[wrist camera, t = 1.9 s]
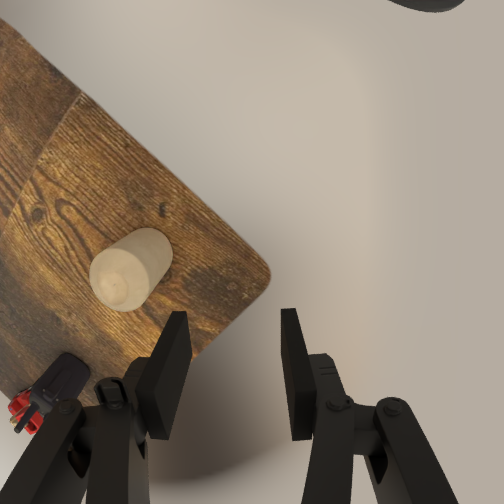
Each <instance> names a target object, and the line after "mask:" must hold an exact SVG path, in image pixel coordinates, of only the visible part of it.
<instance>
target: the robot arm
mask: <svg viewBox="0 0 504 504" xmlns="http://www.w3.org/2000/svg"><path fill="white" fill-rule="evenodd" d="M191 358H192V348H191V341H190V334H189V327H188V320H187V312H186V311H172V313H171V315H170V317H169V319H168V321H167V323H166V325H165V327H164V329H163V331H162V333H161V335H160V337H159V339H158V342H157V344H156V346H155V348H154V350H153V352H152V354H151V356H150V357H138V358H136V359H135V360H134V361H133V362H131V364H130V366H129V368H128V369H127V371H126V373H125V376H124V377H123V379H121V378H118V377H109V378H105V379H102V380H100V381H99V382H98V383H96V385H95V386H94V390H95V393H96V395H97V398H98V400H99V403H100V405H97V406H88V407H83V406H82V404H81V402H80V401H79V400H77V399H74V398H66V399H62V400H60V401H59V402H57V403H56V404H55V405H54V407H53V408H52V410H51V411H50V413H49V414H48V416H47V417H46V419H45V420H44V422H43V423H42V425H41V426H40V428H39V429H38V431H37V432H36V434H35V435H34V437H33V438H32V440H31V442H30V443H29V445H28V446H27V448H26V450H25V451H24V453H23V454H22V456H21V458H20V459H19V461H18V463H17V464H16V466H15V467H14V469H13V471H12V472H11V474H10V476H9V477H8V479H7V481H6V483H5V484H4V486H3V488H2V490H1V491H0V504H81V502H82V499H83V496H84V494H85V491H86V489H87V494H86V504H150V500H149V480H148V449H147V442H146V439H145V436H146V433H147V430H148V432H149V435H150V438H151V439H161V440H169V436H170V432H171V429H172V425H173V421H174V418H175V414H176V411H177V407H178V403H179V399H180V396H181V393H182V388H183V386H184V382H185V379H186V375H187V372H188V368H189V365H190V361H191ZM281 358H282V364H283V372H284V379H285V387H286V394H287V403H288V410H289V417H290V425H291V434H292V441H300V440H310V439H312V433H313V437H314V438H313V444H312V450H311V456H310V462H309V467H308V473H307V477H306V483H305V488H304V493H303V497H302V502H301V504H350V501H351V488H352V474H353V455H354V454H355V455H363V456H364V459H365V462H366V466H367V469H368V472H369V475H370V479H371V482H372V485H373V489H374V492H375V495H376V499H377V502H378V504H458V501H457V499H456V497H455V495H454V493H453V491H452V489H451V487H450V484H449V482H448V480H447V478H446V476H445V474H444V472H443V470H442V468H441V466H440V464H439V462H438V460H437V458H436V456H435V454H434V452H433V450H432V448H431V446H430V444H429V442H428V440H427V438H426V436H425V435H424V433H423V431H422V429H421V427H420V425H419V423H418V421H417V419H416V418H415V416H414V414H413V412H412V410H411V408H410V407H409V405H408V404H407V403H406V402H405V401H404V400H402V399H400V398H395V397H387V398H384V399H381V400H380V401H379V402H378V403H377V405H376V406H365V405H359V404H356V403H354V401H353V399H352V398H350V396H348V395H346V393H345V391H344V388H343V385H342V383H341V380H340V377H339V374H338V372H337V369H336V366H335V363H334V361H333V359H332V358H331V357H330V356H329V355H327V354H326V353H324V354H311V355H308V353H307V349H306V345H305V341H304V338H303V334H302V331H301V327H300V323H299V319H298V315H297V312H296V309H295V308H290V309H281Z"/></svg>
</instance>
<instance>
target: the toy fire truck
mask: <svg viewBox="0 0 504 504" xmlns="http://www.w3.org/2000/svg"><path fill="white" fill-rule="evenodd" d="M31 388H32V386H31V387H30V388H29V389H27V390H25V391H23V392H19V393H18V394H17V395H16V396H15V397H14V398H13V400H12V401H11V402H10V404H9V405H8V409H9V411H10V412H11V413H12V415H13V416H12V417H11V418H10V423H12V425H13V426H14V427H16V425H17V423H18V422H19V420H20V419H21V417H22V416H23V415H24V413H25V412H26V410H27V409H28V408H29V406H30V403H29V396H30V393H31ZM39 413H40V412H38V411H36V412H35V414H34V415H33V416H32V418H31V419H30V420H29V422H28V423H27V424H26V425H25V427H24V428H25V429H26V430H27V432H28V433H29V434H33V433H36V432H37V431H38V429H39V428H40V426H41V425H42V423H43V418H42V417H41V416H40V414H39Z"/></svg>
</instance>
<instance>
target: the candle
mask: <svg viewBox="0 0 504 504" xmlns="http://www.w3.org/2000/svg"><path fill="white" fill-rule="evenodd" d="M172 257H173V252H172V247H171V244H170V242H169V240H168V239H167V237H166V236H165V235H164V234H163V233H161V232H160V231H158V230H156V229H153V228H140V229H137V230H135V231H133V232H131V233H130V234H128V235H127V236H125V237H124V238H122V239H120V240H119V241H117V242H116V243H114V244H113V245H111V246H110V247H108V248H107V249H105V250H104V251H102V252H101V253H99V254H98V255H97V256H96V257H95V258H94V260H93V262H92V264H91V267H90V273H89V277H90V283H91V287H92V289H93V291H94V293H95V295H96V296H97V298H98V299H99V300H100V301H101V302H102V303H103V304H105V305H106V306H108V307H109V308H111V309H113V310H117V311H122V312H127V311H132V310H135V309H137V308H138V307H140V306H141V305H142V304H143V303H144V302H145V300H146V299H147V297H148V296H149V295H150V293H151V292H152V291H153V289H154V288H155V287H156V285H157V284H158V282H159V281H160V280H161V278H162V277H163V276H164V274H165V273H166V272H167V270H168V269H169V267H170V265H171V262H172Z"/></svg>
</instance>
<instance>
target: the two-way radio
mask: <svg viewBox="0 0 504 504" xmlns="http://www.w3.org/2000/svg"><path fill="white" fill-rule="evenodd" d="M89 377H90V373H89V369H88V368H87V366H86V365H85V364H83V363H82V362H81V361H79V360H78V359H77V358H75V357H73V356H72V355H70V354H67V353H65V354H62V355H60V356H59V357H58V358H57V359H56V360H55V361H54V362H53V363H52V364H51V366H50V367H49V368H48V369H47V370H46V371H45V373H44V374H43V375H42V376H41V377H40V378H39V379H38V380H37V381H36V382H35V384H34V385H33V386H32V388H31V393H30V396H29V403H30V406H29V408H28V409H27V410H26V412H25V413H24V415H23V416H22V417H21V419H20V420H19V422H18V423H17V425H16V427H15V428H14V431H15V432H16V433H20V432H21V430H22V429H23V428H24V427H25V425H26V424H27V423H28V422H29V420H30V419H31V418H32V416H33V415H34V414H35V412H36V411H38V412H40V413H41V414H42V415H44V419H43V422H44V420H45V419H46V417H47V416H48V414H49V413H50V411H51V410H52V408H53V407H54V405H55V404H56V403H57V402H59V401H60V400H62V399H66V398H74V399H77V397H78V396H79V394H80V393H81V391H82V390H83V388H84V386H85V384H86V382H87V381H88V379H89Z"/></svg>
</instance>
